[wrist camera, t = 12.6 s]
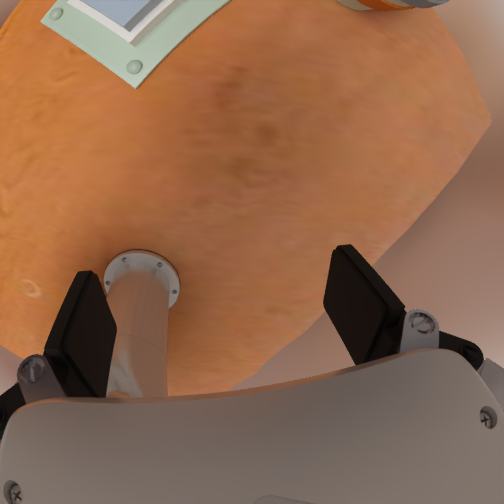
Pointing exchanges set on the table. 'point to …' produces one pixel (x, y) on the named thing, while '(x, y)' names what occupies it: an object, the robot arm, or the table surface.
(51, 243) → the table surface
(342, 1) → the reusable coffee cup
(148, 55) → the stepped tiered stack
